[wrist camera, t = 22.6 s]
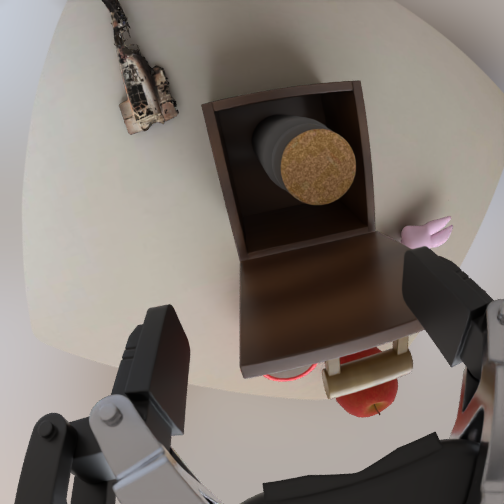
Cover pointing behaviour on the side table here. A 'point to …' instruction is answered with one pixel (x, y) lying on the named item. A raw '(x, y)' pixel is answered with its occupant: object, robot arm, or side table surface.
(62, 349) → the side table surface
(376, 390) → the apple
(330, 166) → the bottle
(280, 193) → the chest
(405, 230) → the pink creature figurine
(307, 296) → the lid
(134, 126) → the airplane wreck
